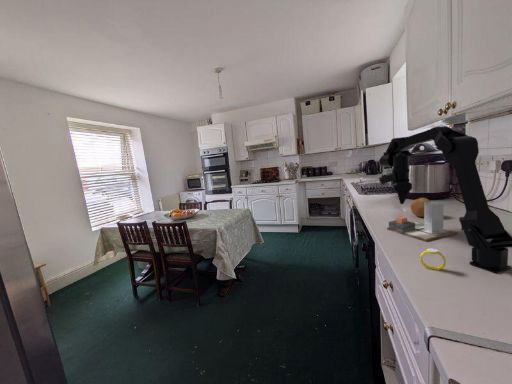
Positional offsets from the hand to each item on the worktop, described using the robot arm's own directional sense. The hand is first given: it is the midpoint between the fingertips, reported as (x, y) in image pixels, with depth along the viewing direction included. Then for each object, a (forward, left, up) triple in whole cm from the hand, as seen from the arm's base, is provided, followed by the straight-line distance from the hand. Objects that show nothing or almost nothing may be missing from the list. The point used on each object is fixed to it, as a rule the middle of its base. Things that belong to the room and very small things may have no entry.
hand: (401, 202), depth 98 cm
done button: (0, 0, -10) cm, 10 cm away
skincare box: (-8, -7, -13) cm, 17 cm away
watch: (-29, +21, -13) cm, 38 cm away
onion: (+10, -25, -13) cm, 31 cm away
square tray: (-5, -5, -13) cm, 15 cm away
